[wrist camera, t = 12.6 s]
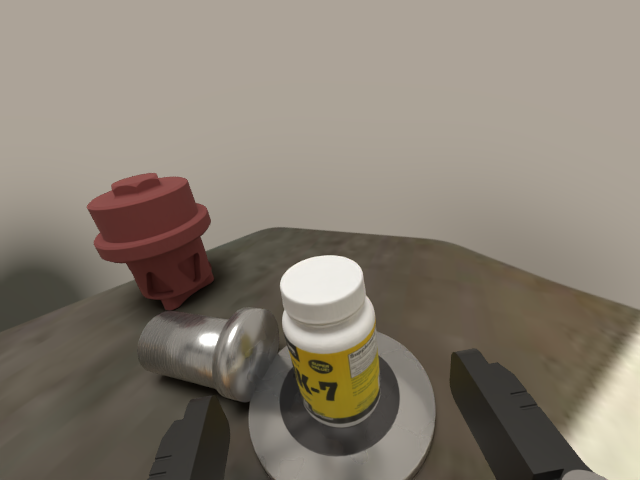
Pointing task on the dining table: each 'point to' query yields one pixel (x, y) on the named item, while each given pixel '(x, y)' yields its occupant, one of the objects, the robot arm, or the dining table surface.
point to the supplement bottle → (332, 339)
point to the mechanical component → (155, 235)
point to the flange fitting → (296, 397)
